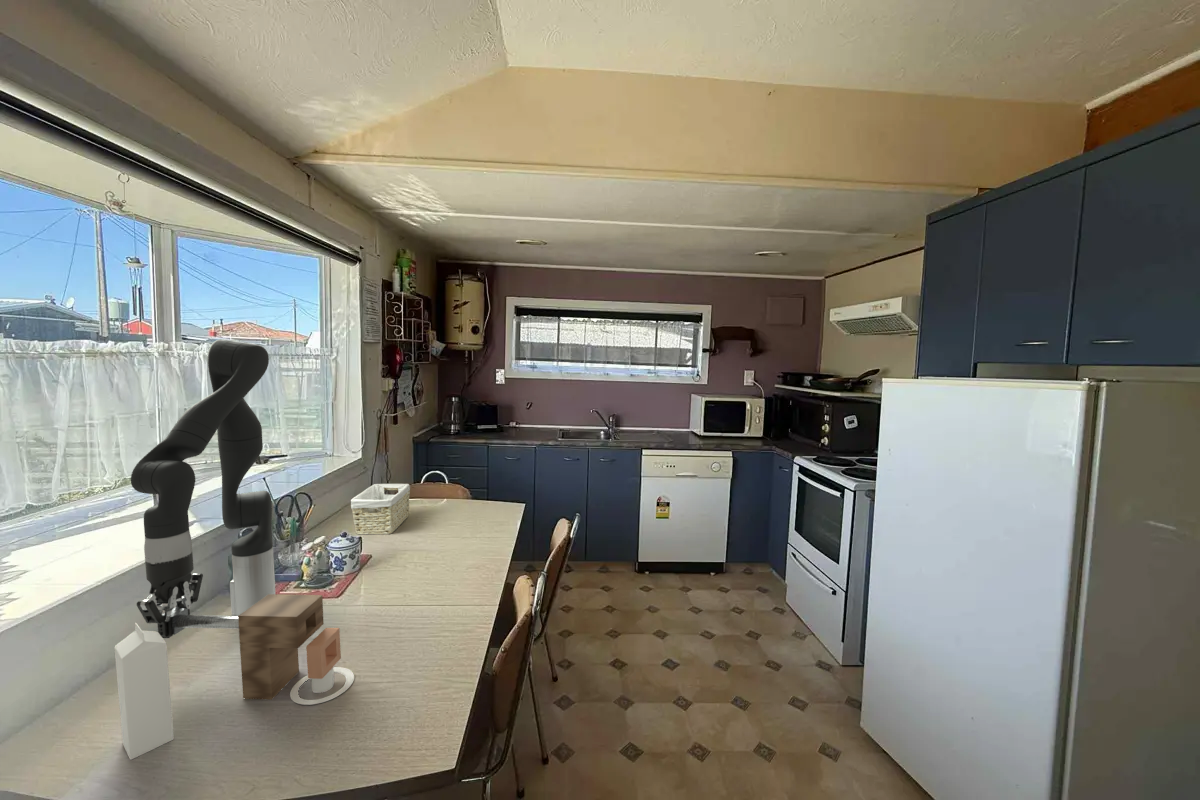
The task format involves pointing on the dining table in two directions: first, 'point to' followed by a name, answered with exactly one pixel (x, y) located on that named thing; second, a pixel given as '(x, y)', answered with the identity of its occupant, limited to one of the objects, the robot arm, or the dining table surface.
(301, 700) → the candle holder
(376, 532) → the storage basket
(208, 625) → the shaft
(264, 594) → the robot arm
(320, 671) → the spacer
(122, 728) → the milk
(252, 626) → the bearing block
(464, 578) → the dining table surface
